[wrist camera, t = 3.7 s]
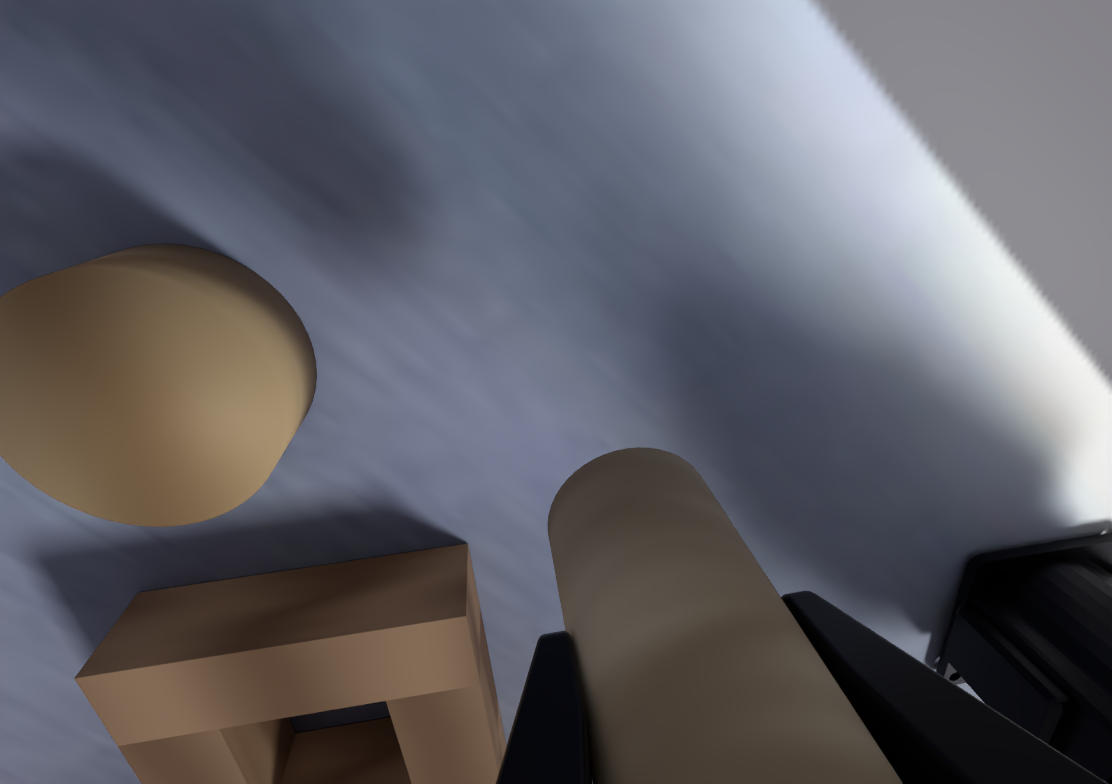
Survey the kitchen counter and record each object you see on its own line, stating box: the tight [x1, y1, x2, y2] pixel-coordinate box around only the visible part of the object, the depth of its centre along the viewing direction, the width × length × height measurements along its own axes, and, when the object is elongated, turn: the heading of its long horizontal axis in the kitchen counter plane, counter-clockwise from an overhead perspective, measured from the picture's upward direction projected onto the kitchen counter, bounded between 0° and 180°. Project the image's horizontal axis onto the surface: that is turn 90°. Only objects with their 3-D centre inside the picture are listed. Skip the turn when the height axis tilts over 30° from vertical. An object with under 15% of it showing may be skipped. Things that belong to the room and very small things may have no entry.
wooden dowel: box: [548, 448, 903, 784], centre depth 6 cm, size 3×3×9 cm
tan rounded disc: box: [0, 243, 317, 527], centre depth 13 cm, size 6×6×3 cm
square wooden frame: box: [74, 544, 506, 784], centre depth 18 cm, size 10×10×3 cm
